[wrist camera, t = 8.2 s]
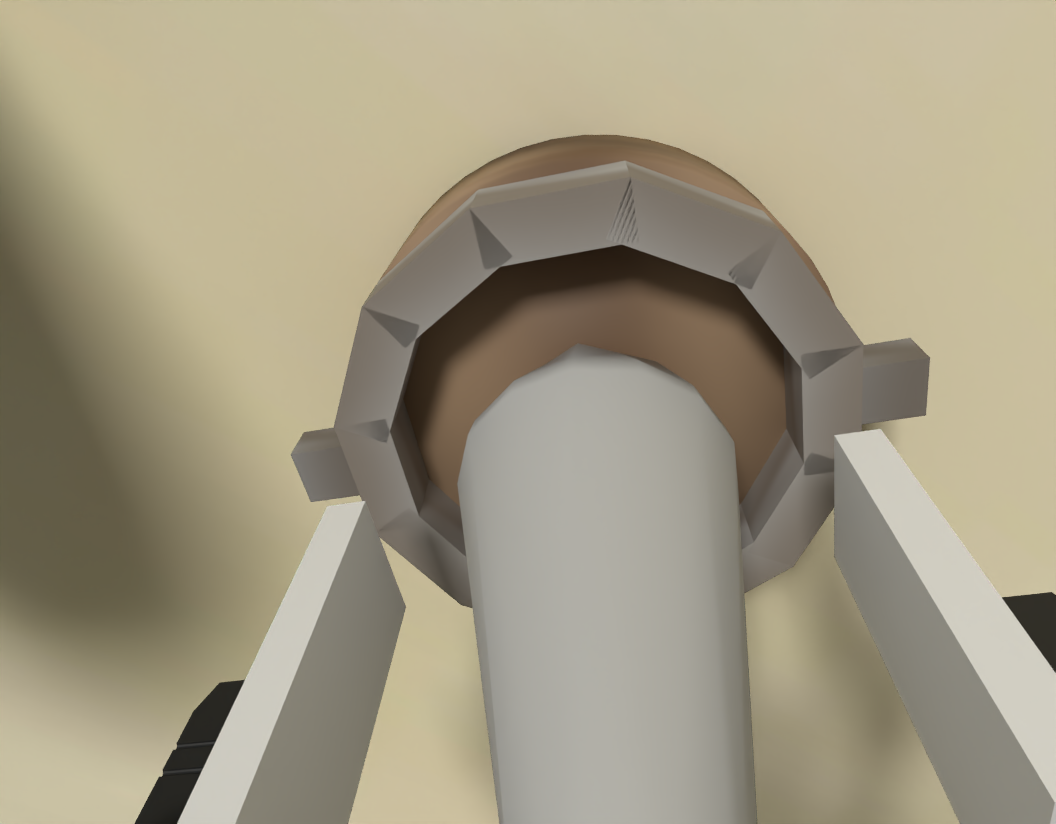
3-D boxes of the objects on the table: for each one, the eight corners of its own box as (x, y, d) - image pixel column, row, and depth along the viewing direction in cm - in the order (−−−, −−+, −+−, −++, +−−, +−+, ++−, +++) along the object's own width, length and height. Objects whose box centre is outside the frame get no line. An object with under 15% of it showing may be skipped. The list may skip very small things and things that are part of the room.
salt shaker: (599, 545, 20) (649, 1313, 9) (422, 432, 18) (212, 1235, 7) (769, 407, 17) (1138, 1264, 6) (584, 256, 15) (649, 1117, 4)
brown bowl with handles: (402, 553, 24) (369, 662, 20) (271, 196, 18) (189, 252, 14) (858, 494, 22) (921, 604, 18) (867, 74, 16) (961, 99, 12)
